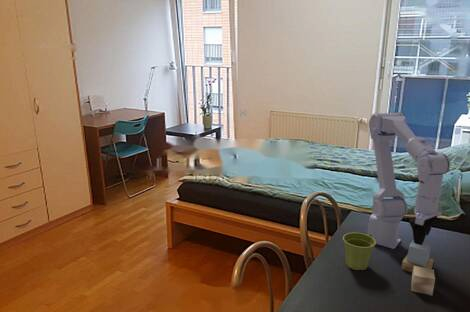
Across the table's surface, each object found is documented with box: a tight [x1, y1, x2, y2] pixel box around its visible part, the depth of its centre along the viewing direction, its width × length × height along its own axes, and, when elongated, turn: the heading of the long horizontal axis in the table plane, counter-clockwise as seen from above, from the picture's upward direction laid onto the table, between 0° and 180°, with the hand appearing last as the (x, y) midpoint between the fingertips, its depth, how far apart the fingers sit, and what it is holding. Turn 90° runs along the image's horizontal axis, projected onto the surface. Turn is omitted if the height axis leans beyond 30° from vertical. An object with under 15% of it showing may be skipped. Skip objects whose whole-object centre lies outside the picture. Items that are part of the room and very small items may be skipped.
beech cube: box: [411, 266, 436, 296], centre depth 103 cm, size 5×5×5 cm
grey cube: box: [407, 239, 432, 267], centre depth 112 cm, size 5×5×5 cm
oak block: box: [401, 253, 434, 274], centre depth 113 cm, size 7×7×3 cm
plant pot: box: [342, 232, 377, 271], centre depth 113 cm, size 9×9×9 cm
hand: (421, 238), depth 111 cm, fingers open, 7 cm apart
